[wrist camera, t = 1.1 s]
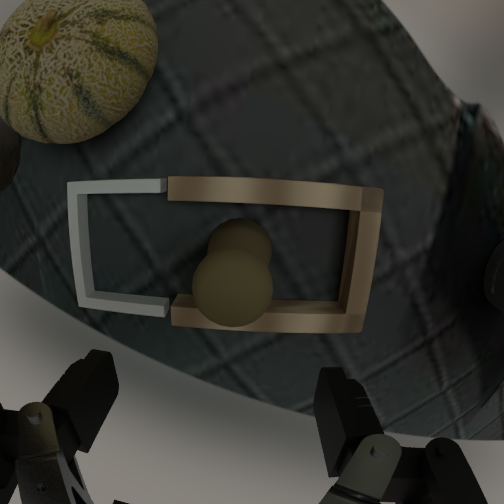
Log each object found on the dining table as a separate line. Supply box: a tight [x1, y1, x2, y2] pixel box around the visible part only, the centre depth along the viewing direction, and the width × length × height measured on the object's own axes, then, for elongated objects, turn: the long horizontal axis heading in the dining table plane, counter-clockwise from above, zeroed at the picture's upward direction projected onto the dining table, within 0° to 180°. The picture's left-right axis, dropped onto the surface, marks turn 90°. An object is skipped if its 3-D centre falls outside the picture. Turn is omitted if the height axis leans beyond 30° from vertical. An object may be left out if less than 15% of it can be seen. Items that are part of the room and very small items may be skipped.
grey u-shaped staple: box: [67, 178, 170, 317], centre depth 27 cm, size 10×13×2 cm
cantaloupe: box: [0, 0, 158, 144], centre depth 17 cm, size 15×15×15 cm
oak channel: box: [168, 176, 384, 333], centre depth 27 cm, size 18×14×3 cm
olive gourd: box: [192, 218, 273, 327], centre depth 23 cm, size 6×6×11 cm
